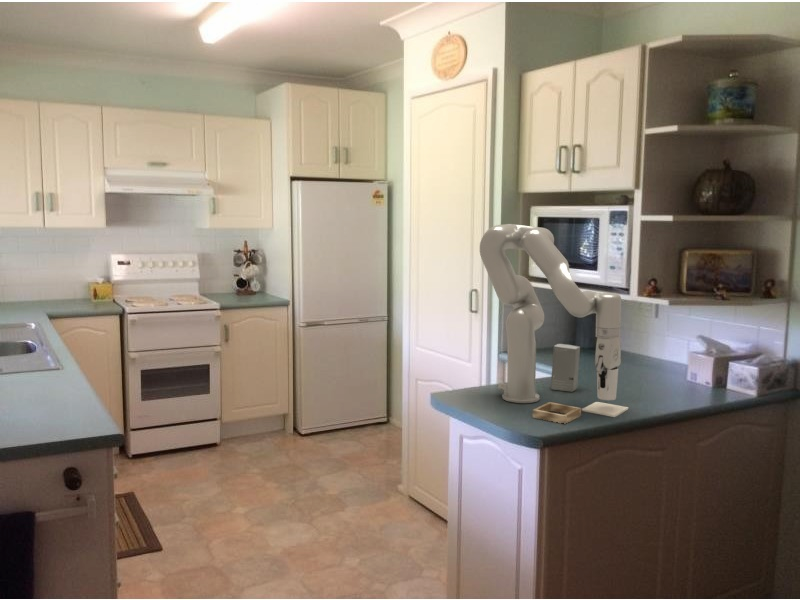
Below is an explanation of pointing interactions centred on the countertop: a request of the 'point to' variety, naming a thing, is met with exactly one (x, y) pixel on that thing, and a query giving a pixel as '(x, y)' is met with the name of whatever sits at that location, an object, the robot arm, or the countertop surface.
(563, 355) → the skincare box
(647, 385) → the countertop surface
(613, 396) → the drinking glass
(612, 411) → the coaster
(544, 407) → the wooden frame
